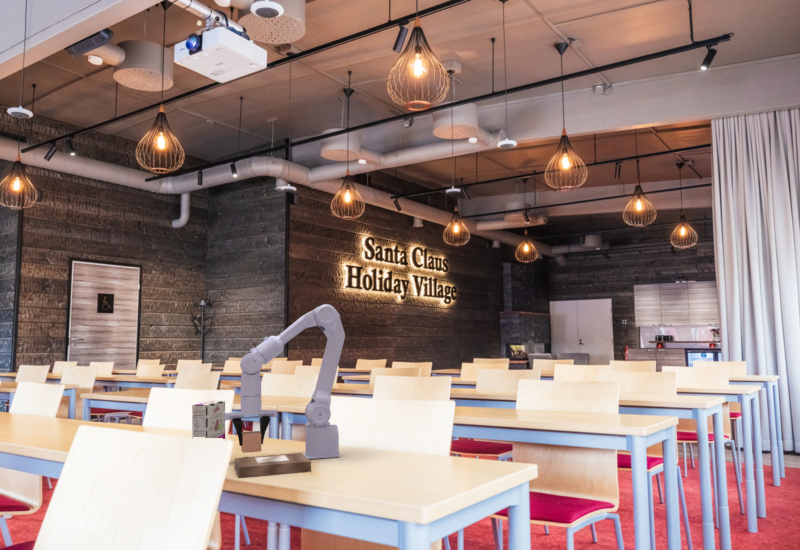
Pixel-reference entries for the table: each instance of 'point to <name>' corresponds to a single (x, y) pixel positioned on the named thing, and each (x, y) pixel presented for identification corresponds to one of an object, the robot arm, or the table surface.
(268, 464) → the walnut plinth
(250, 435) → the terracotta cube
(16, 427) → the table surface
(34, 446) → the table surface
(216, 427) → the candy bar box
